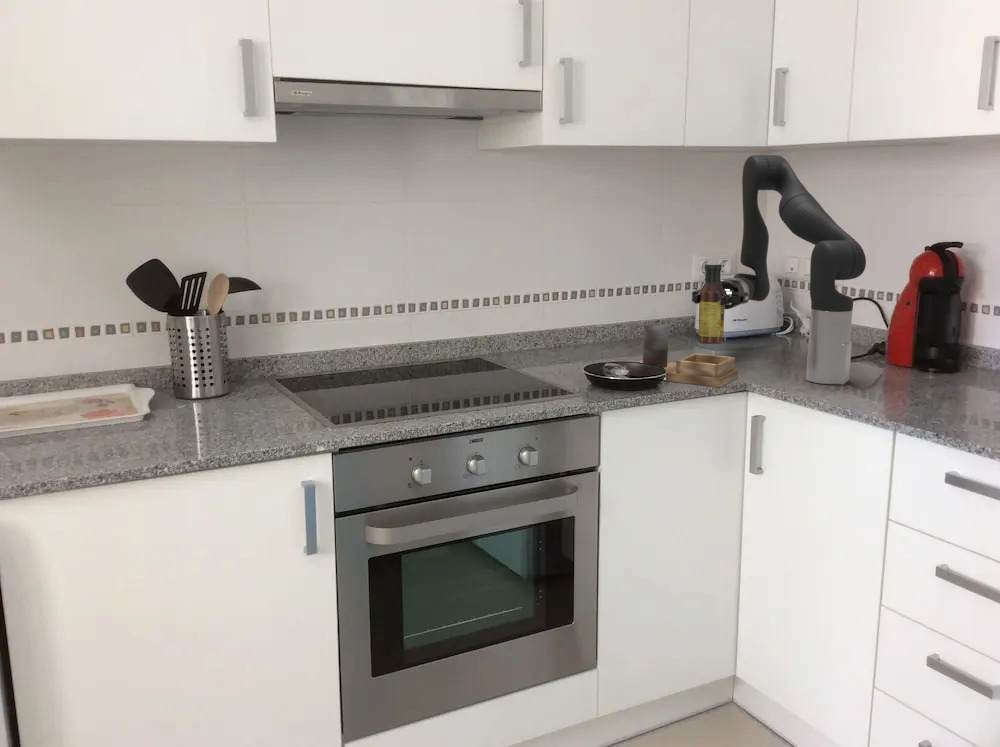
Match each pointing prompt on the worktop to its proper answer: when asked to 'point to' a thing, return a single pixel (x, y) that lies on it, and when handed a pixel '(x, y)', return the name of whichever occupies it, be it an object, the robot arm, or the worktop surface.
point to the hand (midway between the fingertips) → (708, 300)
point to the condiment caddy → (686, 361)
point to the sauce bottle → (711, 307)
